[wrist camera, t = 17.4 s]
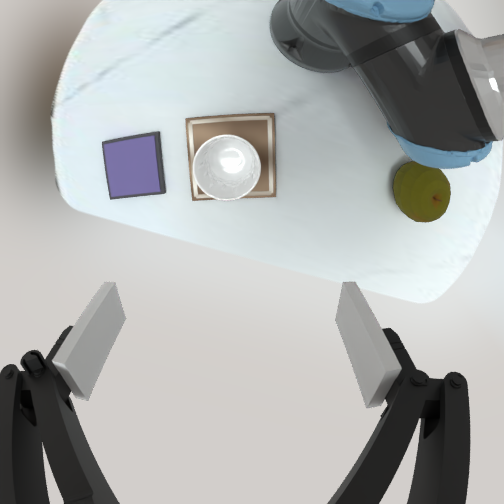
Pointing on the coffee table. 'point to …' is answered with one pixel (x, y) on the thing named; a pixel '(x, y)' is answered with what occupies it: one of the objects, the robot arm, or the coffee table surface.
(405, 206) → the apple
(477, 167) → the coffee table surface
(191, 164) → the brown square coaster
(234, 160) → the white cup
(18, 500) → the robot arm
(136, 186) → the ink pad
